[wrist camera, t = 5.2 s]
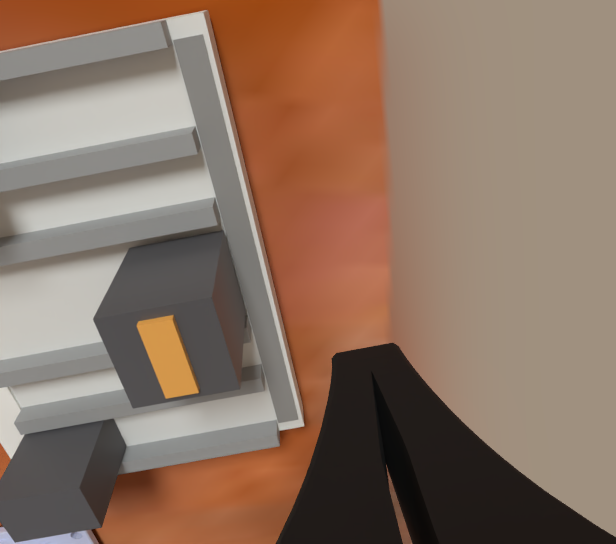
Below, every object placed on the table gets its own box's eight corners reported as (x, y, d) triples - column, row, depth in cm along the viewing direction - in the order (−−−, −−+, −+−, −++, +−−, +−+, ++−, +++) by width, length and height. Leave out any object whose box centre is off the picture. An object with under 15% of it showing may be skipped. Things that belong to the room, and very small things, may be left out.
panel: (302, 405, 22) (310, 504, 18) (34, 453, 23) (-20, 561, 18) (207, 9, 15) (184, 21, 11) (-186, 88, 15) (-358, 129, 11)
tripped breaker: (245, 309, 18) (240, 394, 14) (158, 325, 18) (131, 413, 14) (223, 229, 17) (211, 301, 13) (129, 247, 17) (90, 323, 13)
